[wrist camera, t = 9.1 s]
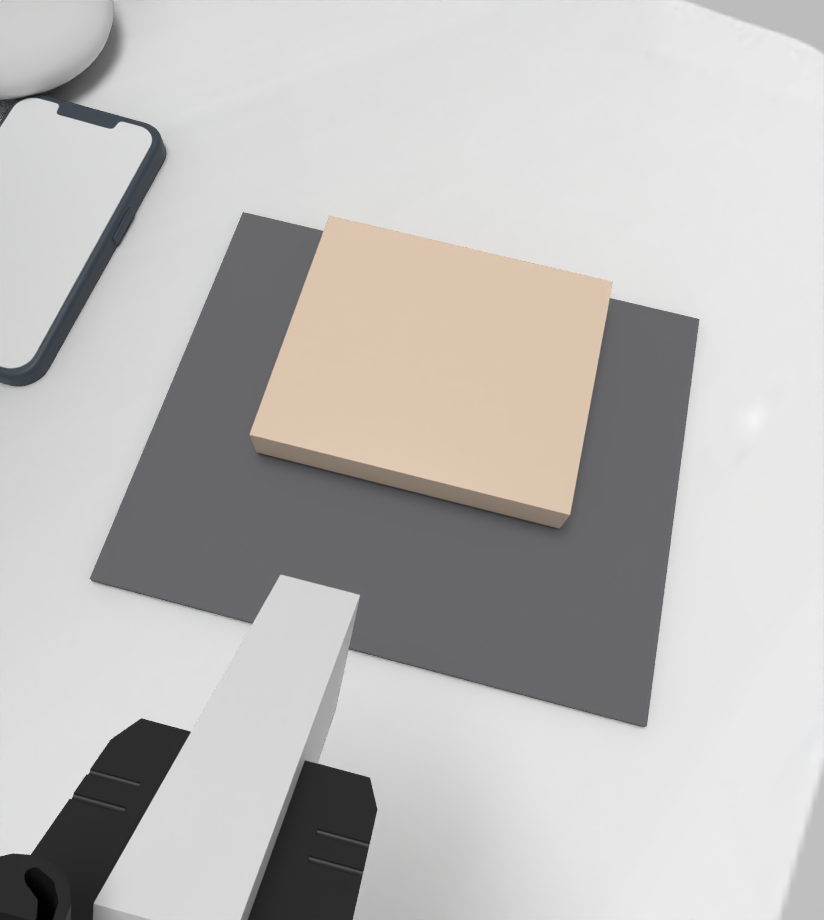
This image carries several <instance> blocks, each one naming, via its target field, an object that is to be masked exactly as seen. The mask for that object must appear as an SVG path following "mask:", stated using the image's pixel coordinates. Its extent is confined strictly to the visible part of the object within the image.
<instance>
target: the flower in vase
mask: <svg viewBox="0 0 824 920" xmlns="http://www.w3.org/2000/svg"><path fill="white" fill-rule="evenodd" d="M113 15H114V9H113V1H112V0H0V99H15V98H22V97H26V96H31V95H35V94H40V93H43V92H46V91H49V90H51V89H54V88H56V87H58V86H61V85H62V84H64V83H66V82H68V81H70V80H72V79H73V78H75V77H76V76H77V75H79V74H80V73H82V72H83V71H84V70H85V69H86V68H87V67H89V66H90V65H91V63H92V62H93V61H94V60H95V59H96V58H97V57H98V55H99V54H100V52H101V51H102V49H103V47H104V45H105V43H106V41H107V39H108V36H109V33H110V30H111V26H112V23H113Z"/></svg>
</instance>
